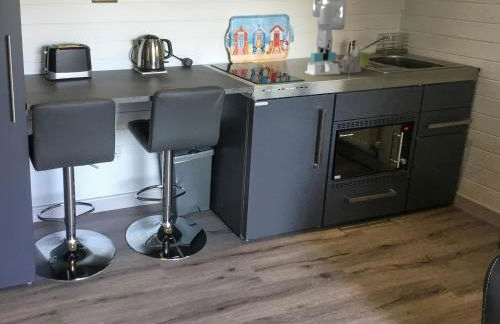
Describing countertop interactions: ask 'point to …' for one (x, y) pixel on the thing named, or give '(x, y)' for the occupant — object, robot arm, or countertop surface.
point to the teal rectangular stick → (319, 57)
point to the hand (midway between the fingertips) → (323, 59)
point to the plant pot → (364, 59)
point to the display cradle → (322, 69)
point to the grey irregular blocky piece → (351, 62)
